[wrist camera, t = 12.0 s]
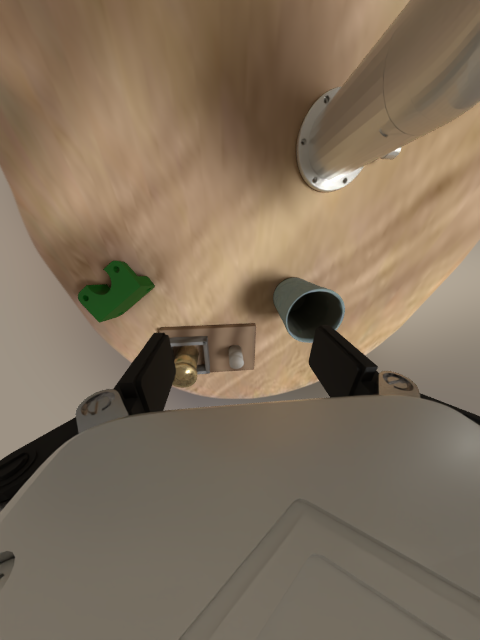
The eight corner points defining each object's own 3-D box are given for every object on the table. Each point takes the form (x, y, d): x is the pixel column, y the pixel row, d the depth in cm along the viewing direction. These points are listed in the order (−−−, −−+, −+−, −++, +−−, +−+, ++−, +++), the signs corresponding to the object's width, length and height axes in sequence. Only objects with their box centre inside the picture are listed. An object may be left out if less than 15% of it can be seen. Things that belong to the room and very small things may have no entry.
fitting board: (254, 323, 42) (260, 337, 36) (253, 365, 47) (257, 383, 42) (161, 327, 40) (150, 342, 34) (170, 371, 46) (163, 390, 40)
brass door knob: (199, 341, 41) (195, 364, 34) (201, 361, 43) (198, 386, 36) (173, 343, 40) (164, 367, 33) (178, 363, 43) (169, 388, 36)
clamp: (140, 267, 38) (125, 251, 29) (158, 289, 39) (149, 280, 30) (89, 299, 36) (56, 292, 27) (110, 322, 37) (85, 322, 28)
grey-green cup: (318, 299, 41) (353, 321, 30) (282, 324, 43) (303, 353, 32) (298, 264, 37) (330, 275, 26) (259, 293, 39) (274, 314, 28)
